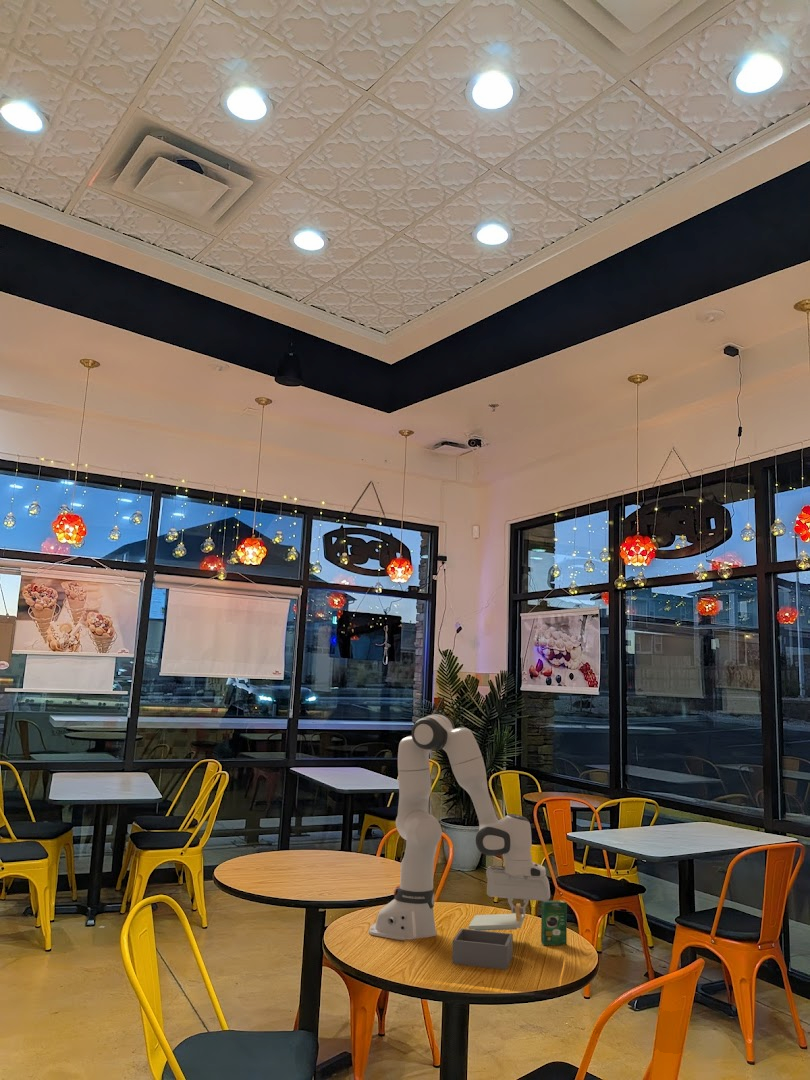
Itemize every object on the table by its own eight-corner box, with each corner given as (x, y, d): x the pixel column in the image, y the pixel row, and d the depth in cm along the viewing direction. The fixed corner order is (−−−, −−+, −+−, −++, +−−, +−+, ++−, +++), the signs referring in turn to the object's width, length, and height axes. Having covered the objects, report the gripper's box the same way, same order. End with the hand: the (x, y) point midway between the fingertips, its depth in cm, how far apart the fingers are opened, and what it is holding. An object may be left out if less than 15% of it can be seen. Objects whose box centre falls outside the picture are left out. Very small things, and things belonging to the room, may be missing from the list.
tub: (452, 966, 225) (452, 940, 227) (460, 953, 238) (461, 928, 239) (507, 972, 221) (507, 946, 223) (512, 958, 234) (512, 933, 235)
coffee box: (564, 942, 251) (563, 899, 254) (567, 945, 249) (567, 901, 251) (540, 943, 250) (540, 899, 252) (544, 946, 247) (543, 902, 250)
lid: (469, 932, 244) (467, 912, 245) (476, 920, 256) (474, 902, 258) (520, 930, 240) (518, 910, 241) (525, 919, 253) (523, 900, 254)
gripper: (484, 866, 250) (484, 912, 247) (548, 871, 245) (549, 919, 242) (487, 863, 256) (487, 908, 253) (550, 868, 251) (550, 913, 248)
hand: (518, 913), depth 247 cm, fingers closed on lid
